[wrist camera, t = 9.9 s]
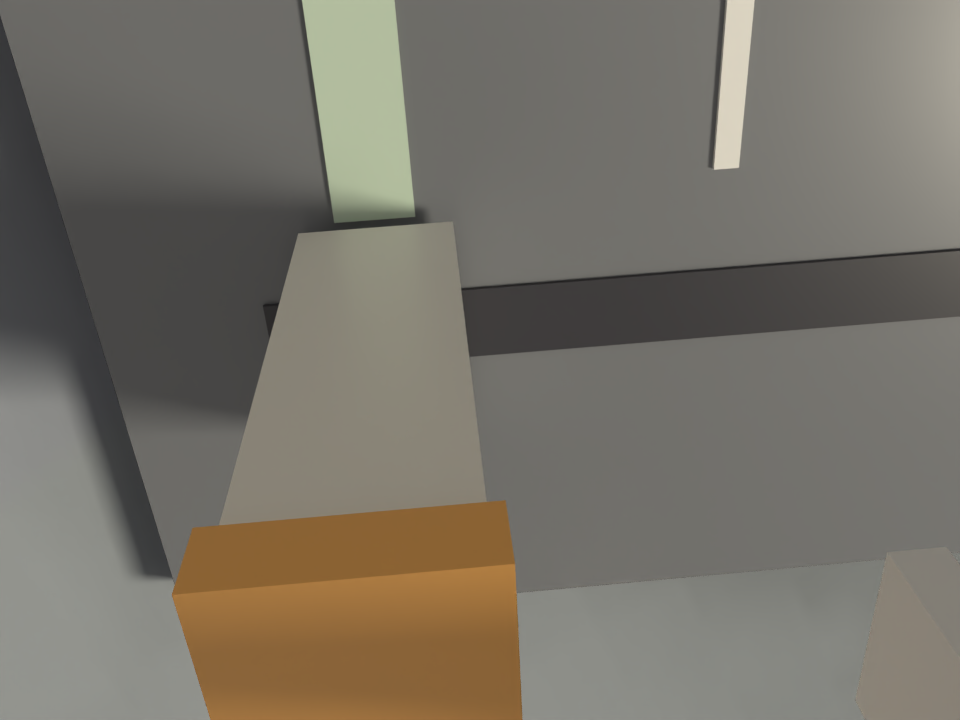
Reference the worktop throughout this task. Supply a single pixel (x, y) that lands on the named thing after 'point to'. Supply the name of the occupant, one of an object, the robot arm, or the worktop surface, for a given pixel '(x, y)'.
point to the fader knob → (359, 506)
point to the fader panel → (547, 249)
